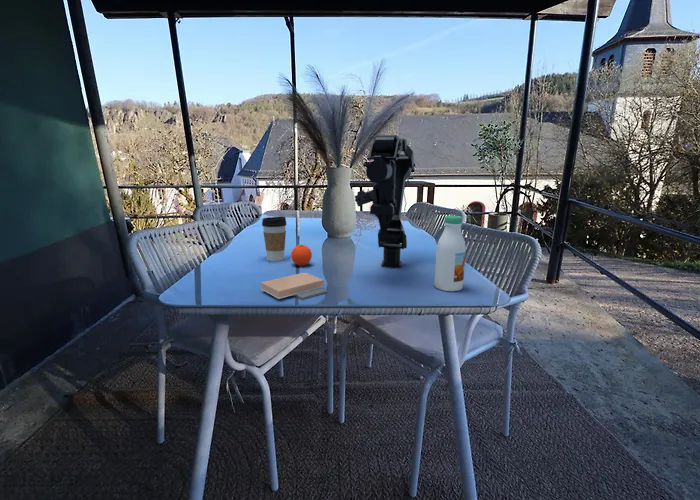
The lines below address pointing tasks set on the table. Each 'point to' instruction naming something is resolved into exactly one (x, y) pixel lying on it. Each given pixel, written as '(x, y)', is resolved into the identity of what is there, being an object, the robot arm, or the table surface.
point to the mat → (310, 293)
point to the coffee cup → (274, 237)
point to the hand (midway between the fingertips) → (383, 234)
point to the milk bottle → (450, 256)
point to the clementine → (301, 255)
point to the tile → (292, 285)
